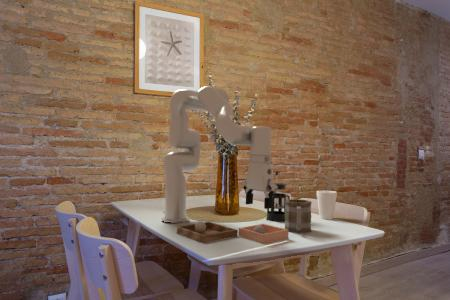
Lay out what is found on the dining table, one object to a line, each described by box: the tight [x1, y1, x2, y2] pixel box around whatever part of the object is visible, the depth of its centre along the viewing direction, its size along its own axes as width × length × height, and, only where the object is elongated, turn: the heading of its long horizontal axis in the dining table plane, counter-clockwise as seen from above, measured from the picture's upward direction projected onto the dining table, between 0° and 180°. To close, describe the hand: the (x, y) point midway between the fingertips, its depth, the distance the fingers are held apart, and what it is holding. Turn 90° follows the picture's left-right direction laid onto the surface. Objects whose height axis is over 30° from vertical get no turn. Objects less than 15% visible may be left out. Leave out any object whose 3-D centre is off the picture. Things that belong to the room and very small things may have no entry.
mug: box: [284, 198, 312, 234], centre depth 138 cm, size 16×11×12 cm
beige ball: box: [194, 221, 206, 233], centre depth 131 cm, size 4×4×4 cm
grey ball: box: [253, 224, 265, 234], centre depth 125 cm, size 4×4×4 cm
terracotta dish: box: [238, 223, 289, 245], centre depth 127 cm, size 13×13×4 cm
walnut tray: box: [176, 221, 239, 244], centre depth 129 cm, size 18×16×3 cm
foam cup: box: [316, 190, 338, 221], centre depth 166 cm, size 10×9×13 cm
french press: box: [266, 170, 291, 223], centre depth 161 cm, size 12×9×23 cm
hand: (258, 206), depth 126 cm, fingers open, 9 cm apart
